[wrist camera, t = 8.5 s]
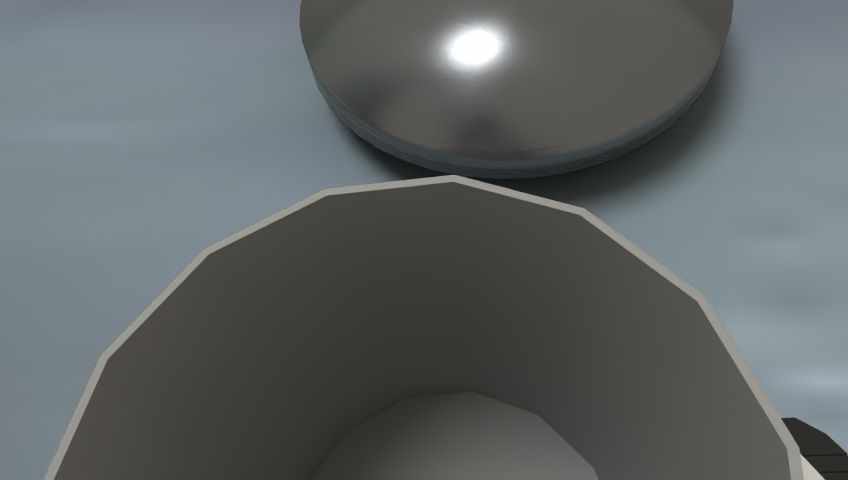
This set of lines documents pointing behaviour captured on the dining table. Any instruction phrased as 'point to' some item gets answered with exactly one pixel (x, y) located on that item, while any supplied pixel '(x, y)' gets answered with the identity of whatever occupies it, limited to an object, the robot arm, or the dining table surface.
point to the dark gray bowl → (512, 76)
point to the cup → (426, 354)
